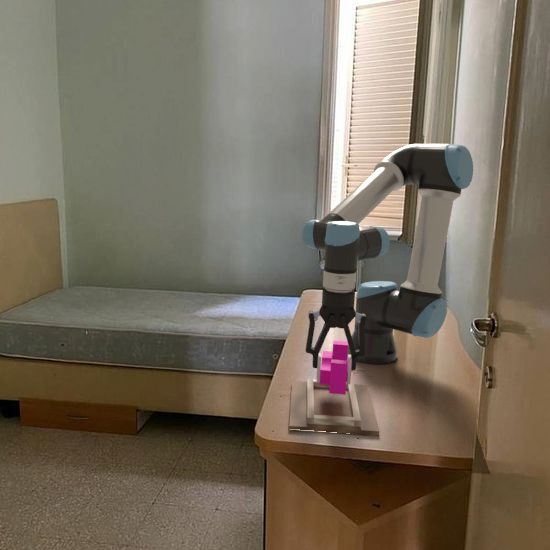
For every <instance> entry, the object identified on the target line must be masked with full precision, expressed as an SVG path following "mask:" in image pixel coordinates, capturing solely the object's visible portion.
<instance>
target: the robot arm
mask: <svg viewBox="0 0 550 550" xmlns="http://www.w3.org/2000/svg"><path fill="white" fill-rule="evenodd" d="M473 175H474V161H473V157H472V154H471V151H470V150H469V149H468V148H467V147H466V146H465V145H462V144H454V143H413V144H412V143H411V144H408V145H404V146H403V147H402V146H401V147H400V148H398V149H396V150H394V151H393V152H391V153H390V154H388V155H387V156H385V157H384V158H383V159H381V160H380V161H379V162H378V163H377V164H376V165H375V167H374V169H373V172H372V173H371V174H370V175H369V176H368V177H367V178H366V179H365V180H364V181H362V182H361V183H360V184H359V185H358V186H356V188H355V189H354V190H352V191H351V192H350V193H349V194H348V195H347V196H346V197H345V198H344V199H343V200H342V201H340V202H339V203H338V204H337V205H336V206H335V207H334V208H333V209H331V211H329V213H327V215H325V217H323V218H322V219H321V220H320V219H310V220H308V221H307V222H306V223H305V224H304V226H303V228H302V231H301V238H302V241H303V244H304V245H305V246H306V247H308V248H309V249H313V250H316V251H321V252H324V266H323V278H322V286H323V289H322V295H321V306H320V308H319V310H315V311H313V310H309V311H308V321H309V326H308V331H307V338H306V345H305V352H306V353H307V354H310V355H312V368H313V369H316V375H315V376H316V380H317V383H320V370H321V363H322V353H321V352H320V351H321V349H322V347H323V345H324V342H325V340H326V338H327V336H328V333H329V332H330V329H336V328H337V329H343V330H344V334H345V337H346V342H348V358H347V361H348V367H347V384H350V381H352V379H351V376H352V371H355V370H356V369H357V361H358V362H360V363H364V364H370V365H371V364H372V365H382V364H383V365H384V364H389V363H393V362H395V361H396V360H397V356H398V350H397V344H396V342H395V337H394V330H395V331H398V332H402V333H404V334H409V335H412V336H414V337H420V338H424V339H429V338H433V337H434V336H436V334H438V332H439V331H440V330H441V328H442V327H443V325H444V322H445V320H446V317H447V313H448V305H447V301H445V300H444V299H443V298H442V295H443V291H442V290H441V289H440V287H439V280H440V276H441V269H442V264H443V259H444V253H445V249H446V242H447V238H448V232H449V228H450V227H449V226H450V222H451V216H452V211H453V204H454V201H456V199H458V198H459V197H461V194H462V190H465V189H467V188H468V187H469V186H470V185H471V182H472V180H473ZM409 185H415V186H418V187H417V192H418V194H420V196H421V201H420V206H419V211H418V216H417V221H416V222H417V224H416V228H415V234H414V239H413V245H412V250H411V256H410V260H409V261H410V262H409V267H408V273H407V277H406V280H405V281H404V282H402V283H401V284H400V286H399V289H398V284H397V283H396V282H394V281H388V280H387V281H386V280H374V281H367V282H366V281H365V282H363V283H361V284H359V285H358V286H357V285H356V282H357V268H358V262H359V261H363V260H370V259H376V258H378V257H381V256H383V255H385V253H387V252H388V250H389V249H390V244H391V242H390V235H389V234H388V232H387V231H386V230H385V229H384V227H380V226H373V225H371V226H366V227H365V226H360V225H359V224H360V223H361V222H362V221H363V220H364V219H366V218H367V217H368V215H370V213H372V212H373V211H374V210H375V209H376V208H377V207H378V206H379V205H380V204H381V203H382V202H383V201H384V200H385V199H386V198H387V197H388V196H389V195H390V194H391V193H392V192H397V191H399V190H400V189H401V188H402V187H404V186H409ZM356 286H357V290H356V291H355V289H356ZM355 302H356V303H355ZM319 317H321V319H322V320H323V322H324V323H323V326H322V329H321V331H320V333H319V336H318V338H317V340H316V343H315V345H314V347H313V341H314V334H315V333H314V332H315V327H316V322H317V321H318V319H319ZM353 319H354V330H353V332H352V333H351V329H350V326H349V324H350V323H351V322H352V321H353Z"/></svg>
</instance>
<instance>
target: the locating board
mask: <svg viewBox="0 0 550 550" xmlns="http://www.w3.org/2000/svg"><path fill="white" fill-rule="evenodd" d="M306 380H307V381H303V380H302V381H298V380H297V381H296V380H292V381H291V392H290V393H291V394H290V395H291V396H290V407H289V420H288V421H289V423H288V430H289V429H300V430H314V431H326V432H337V433H350V434H349V435H351V434H363V435H362V436H368V435H379V436H380V428H379V424H378V420H377V416H376V413H375V408H374V404H373V400H372V397H371V394H370V393H371V392H370V390H369V385H368V384H355V382H354V381H352V380H350V384H347V382H346V395H343V394H332V393H329V388H330V385H327V384H320V383H317V380H316V379H315V378H307V379H306Z"/></svg>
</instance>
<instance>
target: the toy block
mask: <svg viewBox="0 0 550 550" xmlns="http://www.w3.org/2000/svg"><path fill="white" fill-rule="evenodd" d="M347 367H348V341H347V340H346V341H345V340H333V341H332V351H329V350H322V353H321V369H320V384H327V385H330V388H329V393H332V394H343V395H346V382H347Z"/></svg>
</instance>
